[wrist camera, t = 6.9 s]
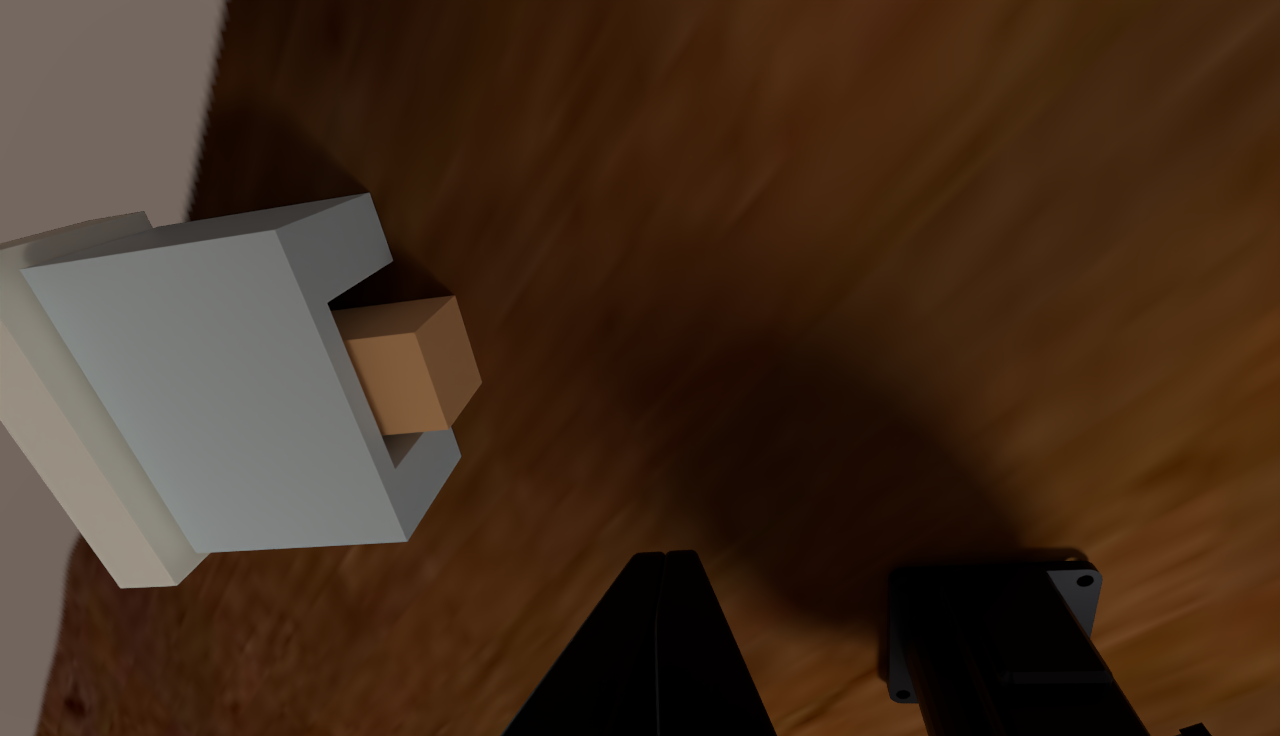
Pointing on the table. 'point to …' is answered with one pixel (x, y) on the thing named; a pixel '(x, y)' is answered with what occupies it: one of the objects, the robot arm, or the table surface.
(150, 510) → the wall
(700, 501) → the table surface
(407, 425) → the tan rectangular brick
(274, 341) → the sled
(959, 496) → the table surface
